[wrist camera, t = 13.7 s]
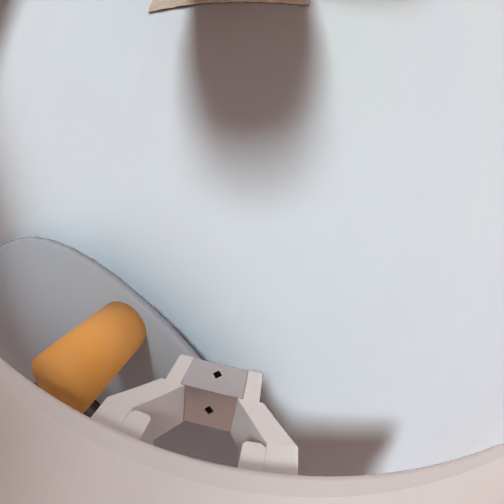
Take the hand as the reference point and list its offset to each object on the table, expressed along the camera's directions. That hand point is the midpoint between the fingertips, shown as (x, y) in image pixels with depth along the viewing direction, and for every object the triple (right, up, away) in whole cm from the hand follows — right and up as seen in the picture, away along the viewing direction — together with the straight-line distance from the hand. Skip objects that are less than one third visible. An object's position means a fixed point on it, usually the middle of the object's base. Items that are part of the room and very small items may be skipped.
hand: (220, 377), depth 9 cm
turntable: (-11, -6, +5) cm, 14 cm away
